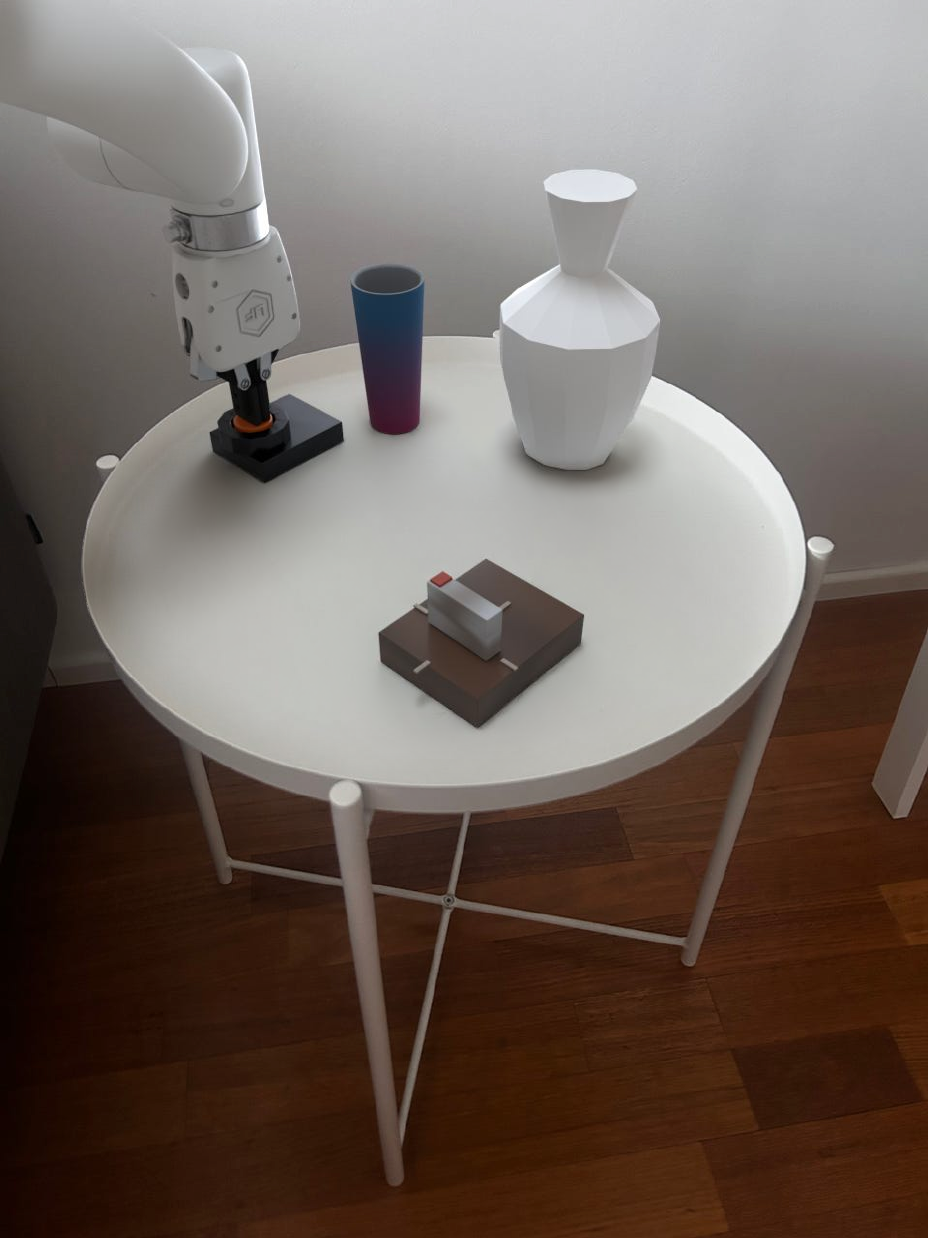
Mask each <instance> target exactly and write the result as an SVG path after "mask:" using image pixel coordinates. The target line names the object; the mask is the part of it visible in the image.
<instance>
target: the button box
mask: <svg viewBox="0 0 928 1238" xmlns="http://www.w3.org/2000/svg"><path fill="white" fill-rule="evenodd" d="M269 403H270V404H269V411H270V414H271V416H272V420H273V425H272V427H270V428H268V429H266V430H264V431H259V432H253V433H246V432H239V431H237V430H236V429H235V428H234V422H233V420H234V417H235V416H236V415H237V414H236V413H235V411H234V409H233V407H232V408H231V409H230V408H229V409H228V410H226V411H224V412H223V413H222V414H221V416H220V417H219V418H218V420H216V421H217V422H216V424H217V428H215V429H213V430H211V431H209V432H208V434H209V439H210V444H211V450H212V452H213V453H215V454H216V455H218V456H219V457H221V458H223V459H225V460H226V461H228V462H230V463H231V464H233V465H234V466H236V467H237V468H239V469H241V470H242V471H244V472H245V473H247V474H250V475H251V476H252V477H254V478H255V479H257V480H259V481H260V482H262V483H263V484H266V483H267V482H269V481H272V480H273V479H276V478H277V477H279V476H281V475H283V474H284V473H287V472H288V471H290V470H293V469H294V468H295V467H298V466H299V465H302V464H303V463H305V462H307V461H309V460H311V459H313V458H314V457H317V456H318V455H320V454H322V453H324V452H326V451H328V450H329V449H331V448H334V447H336V446H337V445H339V444H341V443H344V442H345V436H344V427H343V426H344V425H343V421H342V420H339V419H338V418H336V417H334V416H332V415H330V414H329V413H327V412H325V411H323V410H321V409H319V408H317V407H315V406H313V405H311V404H309V403H308V402H306V401H304V400H302V399H300V398H298V397H296V396H295V395H293V394H291V393H288V394H286V395H283V396H281V397H280V398H278V399H276V400H273V401H271V402H269Z"/></svg>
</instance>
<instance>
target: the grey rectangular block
mask: <svg viewBox="0 0 928 1238" xmlns="http://www.w3.org/2000/svg"><path fill="white" fill-rule="evenodd" d="M426 587H427V588H426V590H427V592H426V593H427V599H428V622H429V623H430V624H432V625H433V626H435V627H436V628H438V629H439V630H441V631H442V632H444V633H445V634H447V635H448V636H450V637H451V638H453V639H454V640H456V641H457V642H459V643H460V644H462V645H463V646H464V647H466V648H467V649H469V650H470V651H472V652H473V653H475V654H476V655H478V656H479V657H481V658H482V659H484V660H485V661H487V660H489V659H490V658H491V657H493V656H494V655H495V654H497V653H498V652H499V651H501V634H502V609H500V608H499V607H497V606H496V605H494V604H492V603H491V602H489V601H488V600H486V599H485V598H483V597H481V596H480V595H478V594H477V593H475V592H473V591H472V590H470V589H469V588H467V587H466V586H464V585H462V584H461V583H459V582H458V581H456V580H455V578H453V576H451V575H450V574H448V573H447V572H445V571H443V570H442V571H441V572H439V573H438V574H436V575H435V576H433V577H431V578H430V579H429V580H427V582H426Z"/></svg>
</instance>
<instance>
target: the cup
mask: <svg viewBox="0 0 928 1238" xmlns="http://www.w3.org/2000/svg"><path fill="white" fill-rule="evenodd" d="M425 280H426V277H425V275H424V273H423V272H422V271H421V270H419V269H418V268H416V267H414V266H411V265H407V264H403V263H395V262H394V263H393V262H387V263H375V264H370V265H366V266H363V267H361V268H359V269H357V270H356V271H354V273H352V274H351V276H350V279H349V282H350V288H351V296H352V304H353V311H354V317H355V323H356V331H357V339H358V346H359V353H360V360H361V367H362V374H363V381H364V389H365V395H366V402H367V409H368V417H369V423H370V426H371V427H372V428H373V429H374V430H375V431H376V432H379V433H381V434H388V435H400V434H406V433H409V432H411V431H413V430H414V429H416V428H417V427H418V426H419V424H420V421H421V394H422V393H421V392H422V391H421V390H422V367H423V366H422V365H423V338H424V311H425V310H424V309H425V284H426V283H425V282H426V281H425Z"/></svg>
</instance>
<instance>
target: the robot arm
mask: <svg viewBox="0 0 928 1238" xmlns="http://www.w3.org/2000/svg"><path fill="white" fill-rule="evenodd" d="M251 85H252V84H251V80H250V75H249V71H248V68H247V66H246V63H245V62H244V60H242V59H241V57H240V56H239V55H238V54H236V53H235V52H233V51H231V50H227V49H224V48H220V47H215V46H214V47H213V46H190V47H189V46H188V47H179V46H178V45H177V44H176V43H175V42H174V41H172V40H171V39H170V38H168V37H167V36H166V35H164V34H163V33H161V32H160V31H158V30H157V29H156V28H153V27H152V26H151V25H149V24H148V23H146V22H145V21H143V20H141V19H140V18H138V17H137V16H135V15H134V14H132V13H131V12H129V11H127V10H125V9H123V8H122V7H120V6H118V5H117V4H115V3H114V2H111V1H110V0H0V103H2V104H6V105H9V106H12V107H16V108H19V109H21V110H26V111H29V112H31V113H35V114H39V115H42V116H45V117H46V131H47V136H48V139H49V142H50V145H51V148H52V149H53V151H54V153H55V154H56V156H57V158H58V159H59V160H60V162H62V163H63V164H64V165H65V167H67V168H68V169H69V170H70V171H72V172H73V173H74V174H76V175H78V176H80V177H82V178H84V179H86V180H88V181H91V182H93V183H97V184H100V185H104V186H108V187H114V188H117V189H123V190H127V191H132V192H136V193H143V194H147V195H152V196H156V197H162V198H166V199H169V202H170V209H169V211H170V217H171V221H170V222H169V224H166V225H163V227H162V235H163V237H164V238H165V241H167V242H168V243H169V244H172V243H175V242H177V243H176V244H174V245H173V246H172V256H171V257H172V259H171V264H172V266H171V267H172V268H171V270H172V272H171V273H172V276H171V277H172V290H173V300H174V308H175V317H176V323H177V328H178V333H179V338H180V343H181V346H182V350H183V352H184V354H185V355H186V356H187V357H189V375H190V377H191V378H193V379H195V380H196V381H198V382H201V383H205V382H210V381H217V380H219V379H222V380H224V381H225V382H227V383H228V385H229V391H230V397H231V402H232V408H233V409H234V411H235V413H236V414H237V415H238V416H239V417H240V418H242V419H244V420H246V421H247V422H249V423H251V424H253V425H254V426H258V425H260V424H261V422H262V421H264V422H266V421H268V420H270V411H269V404H270V403H271V402H270V397H269V389H268V382H267V381H268V380H270V378H271V376H272V365H273V363H274V361H275V359H276V357H277V356H278V353H279V352H281V351H282V350H283V349H285V348H286V347H287V346H288V345H290V344H291V343H293V341H295V340H296V339H297V337H298V336H299V334H300V333H301V319H300V312H299V311H300V310H299V304H298V298H297V293H296V288H295V284H294V279H293V275H292V270H291V266H290V263H289V259H288V255H287V251H286V249H285V247H284V244H283V241H282V238H281V236H280V233H279V231H278V229H277V228H276V227H275V226H273V225H270V223H269V216H268V209H267V208H268V207H267V200H266V195H265V187H264V180H263V179H264V177H263V170H262V164H261V156H260V148H259V147H260V146H259V139H258V133H257V132H258V131H257V124H256V116H255V108H254V102H253V101H254V100H253V94H252V87H251Z"/></svg>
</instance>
